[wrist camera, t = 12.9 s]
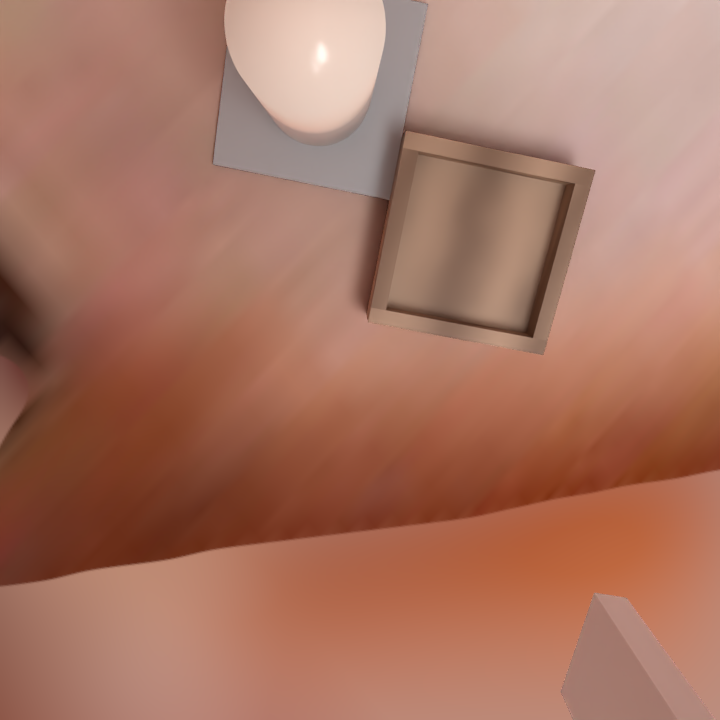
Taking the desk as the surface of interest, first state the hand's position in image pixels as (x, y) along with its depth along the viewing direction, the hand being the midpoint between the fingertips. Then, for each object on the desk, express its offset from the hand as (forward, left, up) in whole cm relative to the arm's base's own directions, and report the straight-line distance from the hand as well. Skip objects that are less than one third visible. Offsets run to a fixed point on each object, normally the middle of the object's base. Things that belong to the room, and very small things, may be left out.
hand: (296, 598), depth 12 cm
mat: (+4, -16, -29) cm, 33 cm away
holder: (-8, -8, -29) cm, 31 cm away
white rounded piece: (+4, -17, -28) cm, 33 cm away
